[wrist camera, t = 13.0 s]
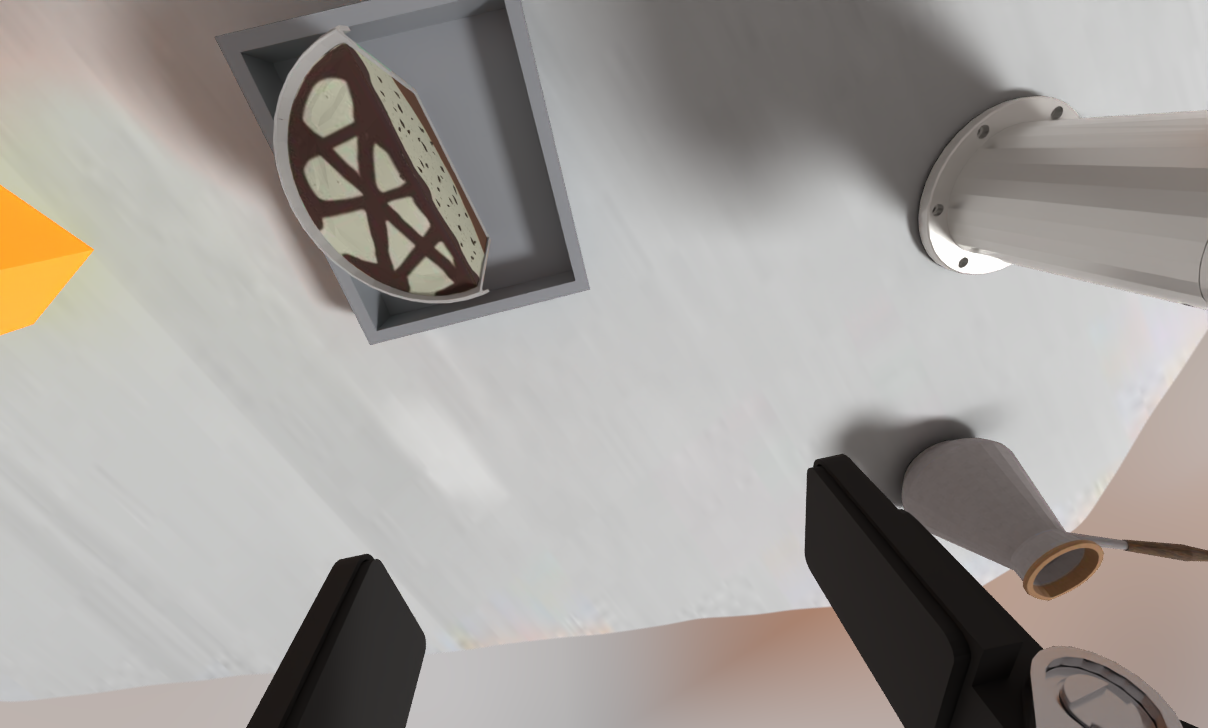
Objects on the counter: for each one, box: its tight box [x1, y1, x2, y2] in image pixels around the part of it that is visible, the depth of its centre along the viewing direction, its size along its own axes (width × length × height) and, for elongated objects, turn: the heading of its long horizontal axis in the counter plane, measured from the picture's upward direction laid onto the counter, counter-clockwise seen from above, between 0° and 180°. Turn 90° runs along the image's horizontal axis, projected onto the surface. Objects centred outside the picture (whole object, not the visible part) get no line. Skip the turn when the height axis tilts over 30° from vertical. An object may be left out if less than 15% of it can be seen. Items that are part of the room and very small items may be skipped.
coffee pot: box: [901, 438, 1208, 601], centre depth 41 cm, size 21×12×15 cm, turn 94°
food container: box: [273, 25, 491, 303], centre depth 24 cm, size 12×6×10 cm, turn 21°
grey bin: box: [215, 0, 590, 345], centre depth 27 cm, size 15×17×4 cm
